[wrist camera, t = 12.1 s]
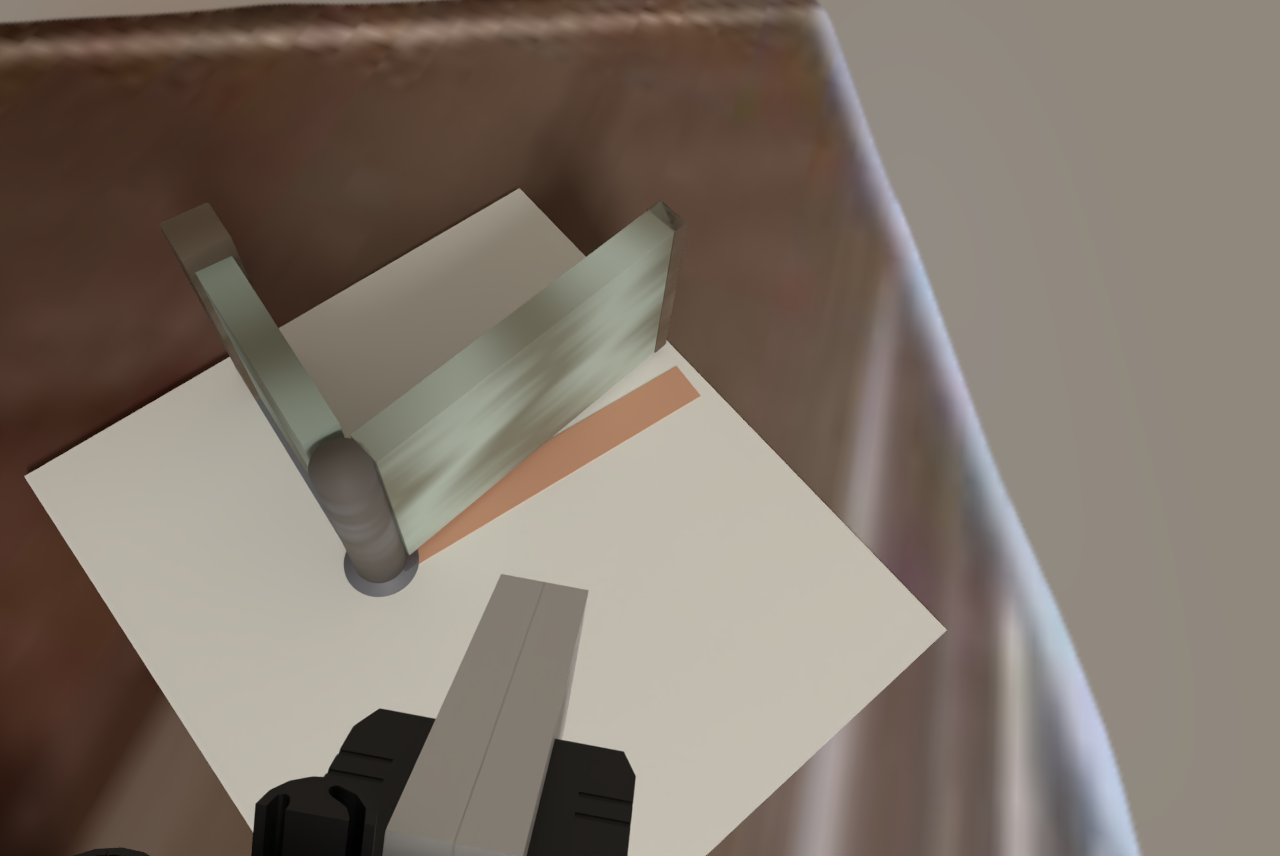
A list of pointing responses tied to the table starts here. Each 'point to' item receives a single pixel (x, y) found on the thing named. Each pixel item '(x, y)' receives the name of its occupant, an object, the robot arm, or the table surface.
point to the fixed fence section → (250, 331)
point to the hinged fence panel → (500, 397)
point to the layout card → (488, 558)
